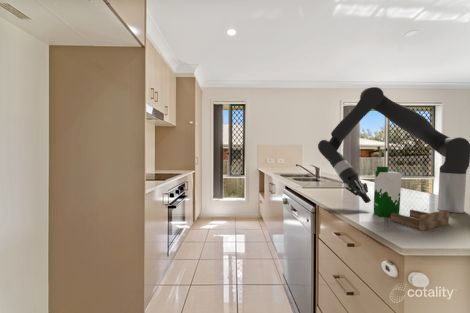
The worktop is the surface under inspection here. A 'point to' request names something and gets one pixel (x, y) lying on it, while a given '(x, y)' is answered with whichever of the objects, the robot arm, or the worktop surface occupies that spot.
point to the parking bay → (422, 219)
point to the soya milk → (387, 192)
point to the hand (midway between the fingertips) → (368, 201)
